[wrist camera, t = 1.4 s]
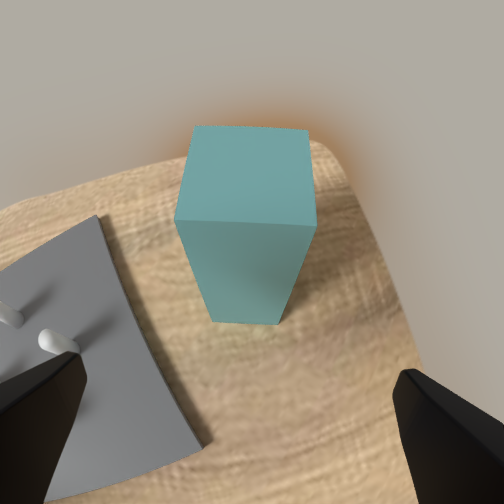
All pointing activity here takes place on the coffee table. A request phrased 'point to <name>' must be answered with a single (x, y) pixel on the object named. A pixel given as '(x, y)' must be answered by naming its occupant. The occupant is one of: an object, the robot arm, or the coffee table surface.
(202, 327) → the coffee table surface
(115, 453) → the peg plate
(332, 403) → the coffee table surface
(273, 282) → the teal block
